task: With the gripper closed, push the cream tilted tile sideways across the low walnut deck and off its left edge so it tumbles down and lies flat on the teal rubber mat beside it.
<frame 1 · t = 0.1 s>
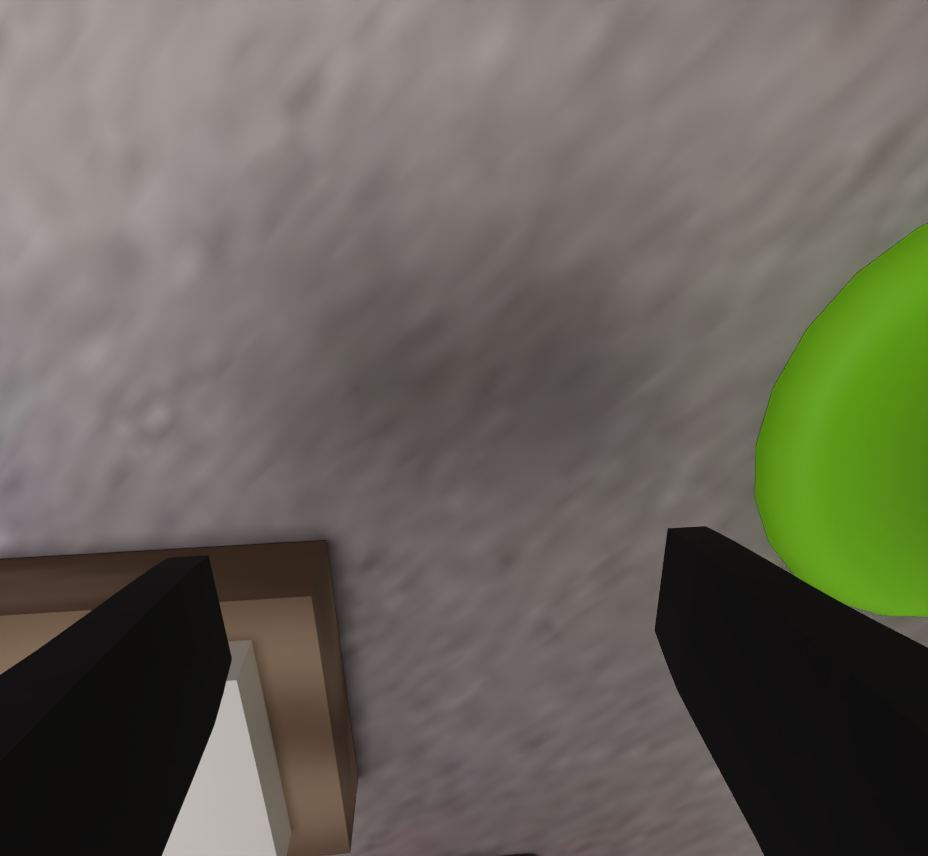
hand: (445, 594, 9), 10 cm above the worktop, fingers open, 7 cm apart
cream tilted tile: (182, 751, 19), point 3 cm above the worktop, touching deck
deck: (185, 683, 22), on the worktop
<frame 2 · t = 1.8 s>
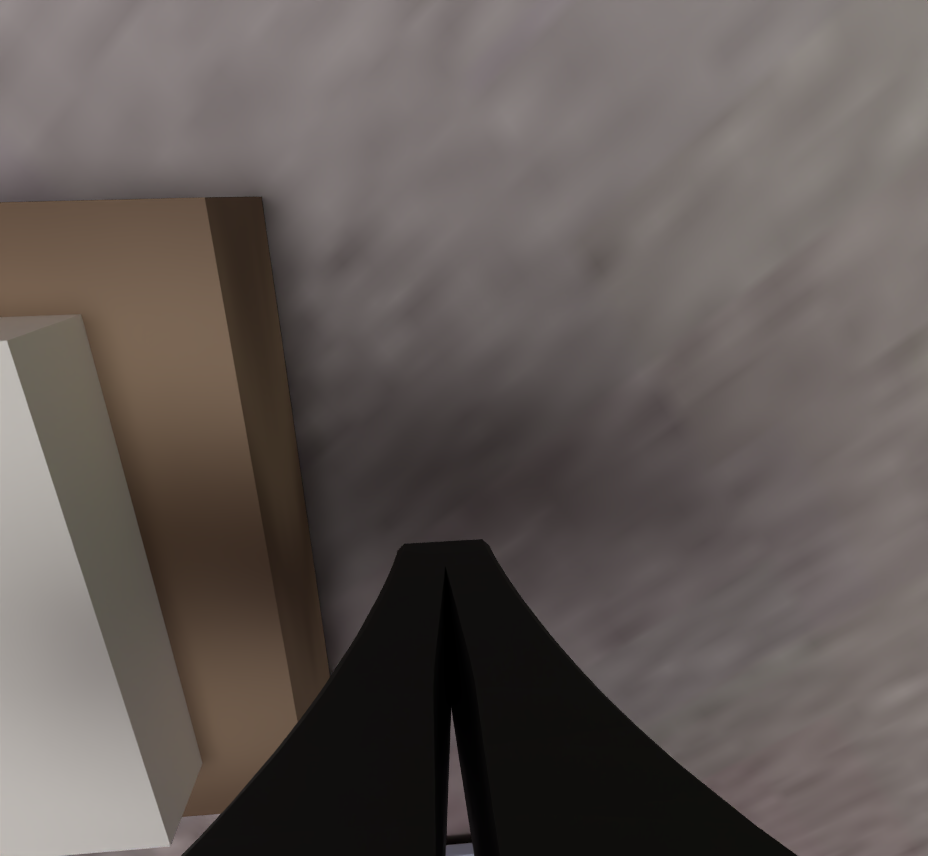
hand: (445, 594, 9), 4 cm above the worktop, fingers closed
deck: (21, 503, 12), on the worktop
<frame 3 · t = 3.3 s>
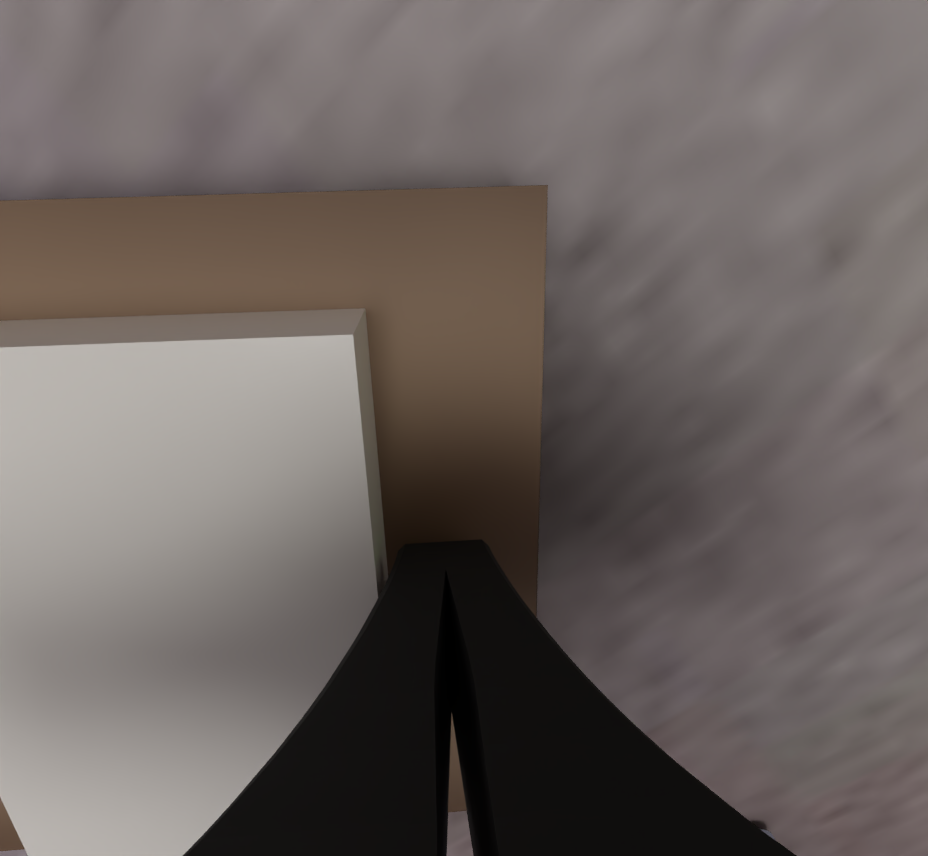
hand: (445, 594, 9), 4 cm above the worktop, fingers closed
cream tilted tile: (205, 587, 10), point 3 cm above the worktop, touching deck, gripper
deck: (232, 500, 12), on the worktop
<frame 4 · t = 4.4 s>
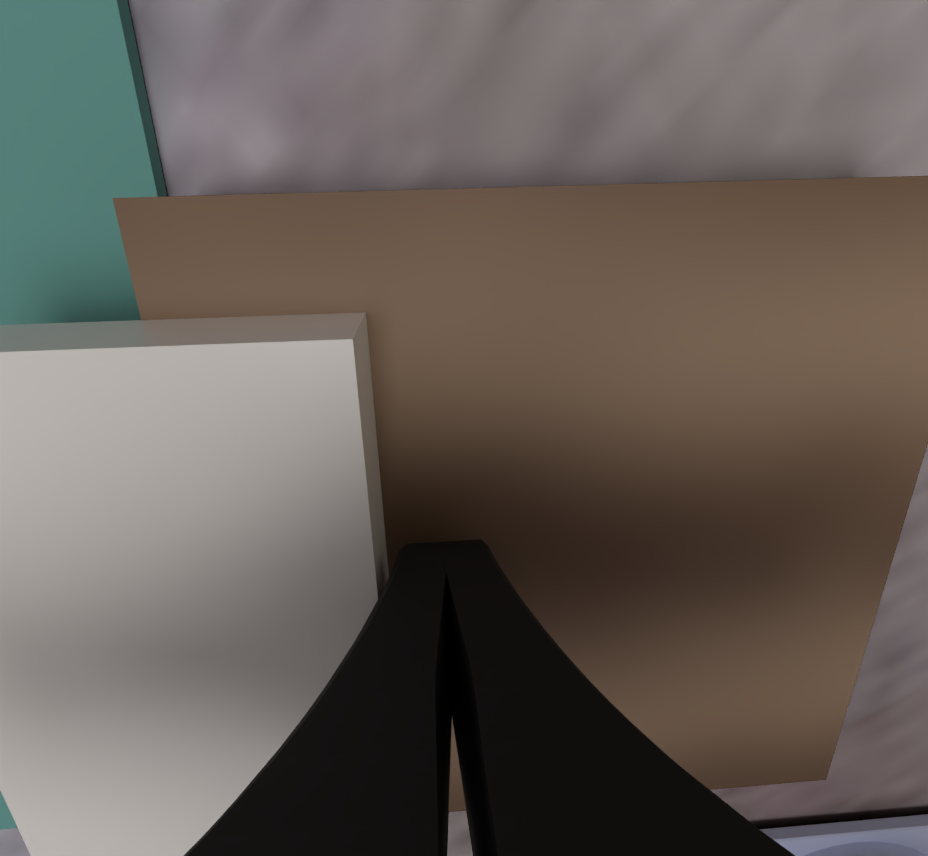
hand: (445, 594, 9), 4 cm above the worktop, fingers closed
cream tilted tile: (207, 589, 10), point 3 cm above the worktop, touching deck, gripper
deck: (531, 483, 13), on the worktop
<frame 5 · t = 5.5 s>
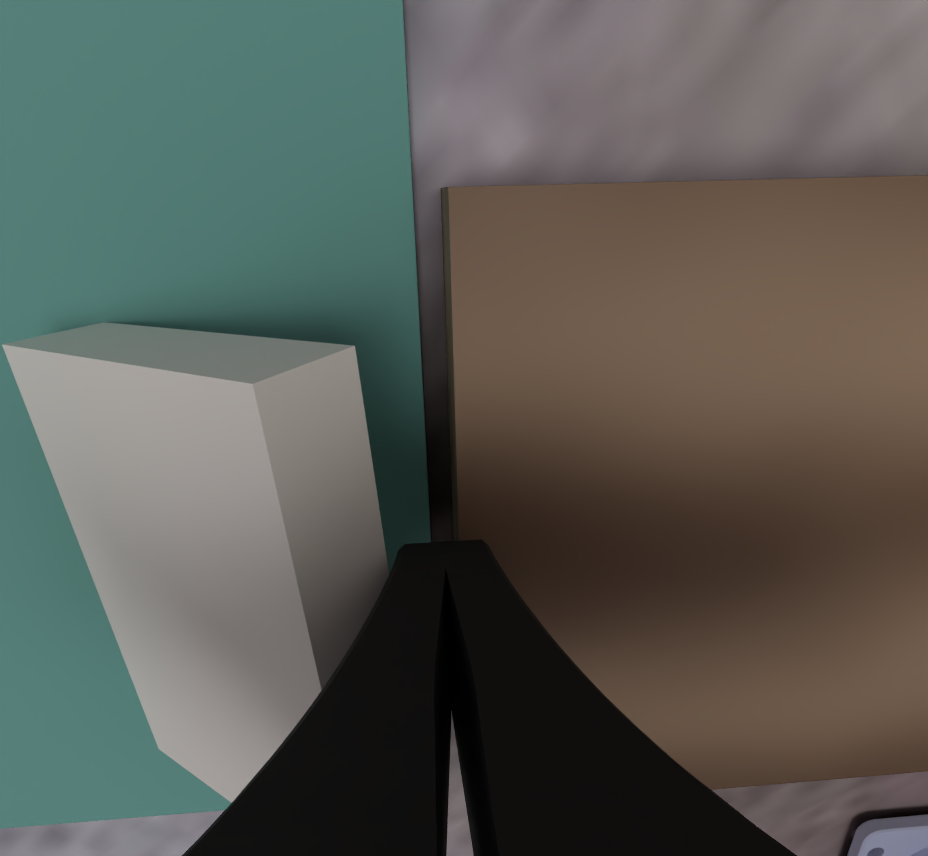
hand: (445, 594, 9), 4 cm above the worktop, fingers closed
cream tilted tile: (267, 574, 11), point 2 cm above the worktop, tilted 36°, touching gripper, mat
deck: (720, 472, 13), on the worktop
mat: (70, 507, 12), on the worktop
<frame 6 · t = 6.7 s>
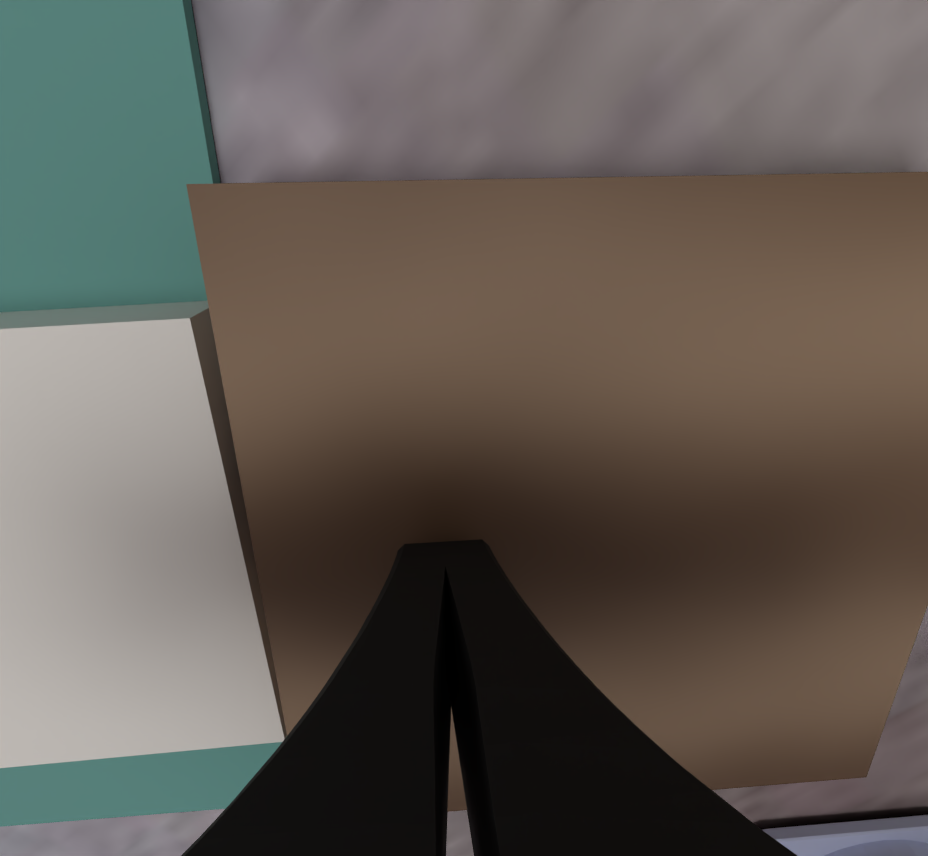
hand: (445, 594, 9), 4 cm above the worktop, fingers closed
cream tilted tile: (118, 529, 12), resting on mat
deck: (573, 479, 13), on the worktop
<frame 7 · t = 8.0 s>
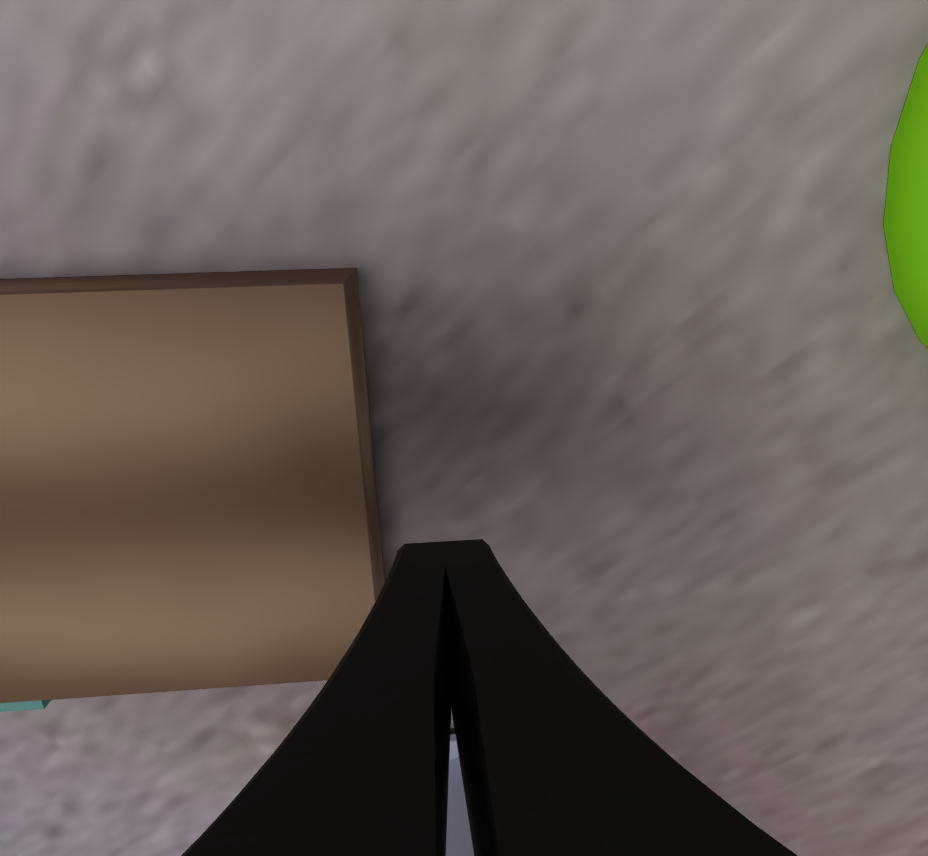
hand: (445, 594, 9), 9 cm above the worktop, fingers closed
deck: (181, 470, 18), on the worktop
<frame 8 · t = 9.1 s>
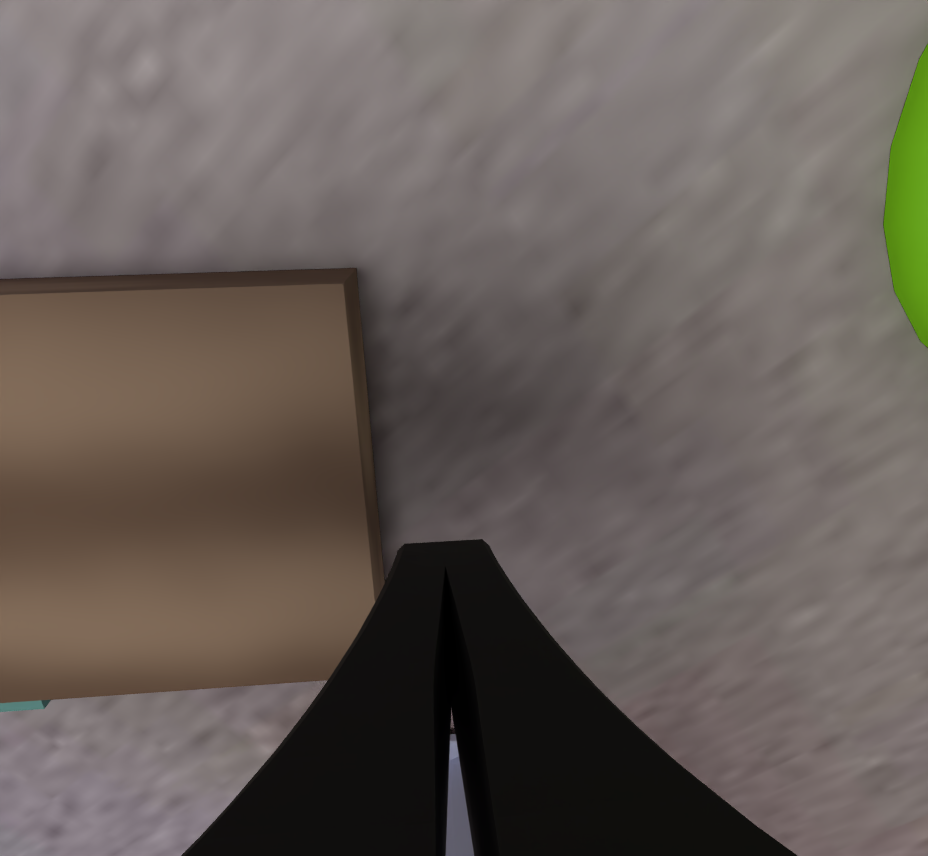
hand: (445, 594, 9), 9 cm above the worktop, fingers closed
deck: (181, 470, 18), on the worktop
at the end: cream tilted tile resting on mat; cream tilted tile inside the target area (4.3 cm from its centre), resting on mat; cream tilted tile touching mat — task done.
